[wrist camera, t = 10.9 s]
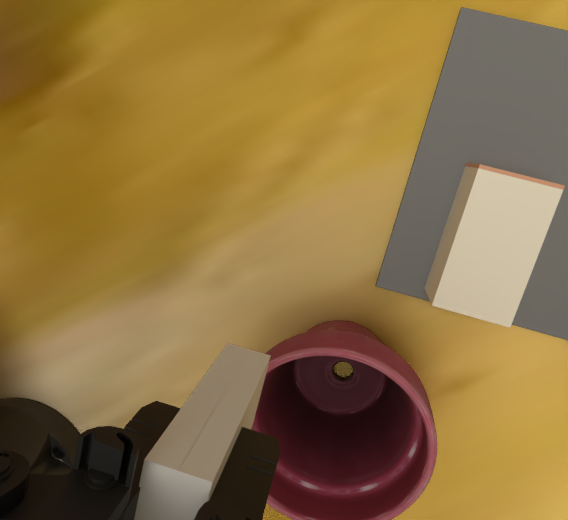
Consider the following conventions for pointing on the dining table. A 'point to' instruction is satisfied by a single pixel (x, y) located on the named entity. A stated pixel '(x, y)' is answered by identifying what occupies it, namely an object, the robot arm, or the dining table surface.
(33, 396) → the dining table surface
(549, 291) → the mat
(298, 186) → the dining table surface
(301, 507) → the plant pot
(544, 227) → the cream rectangular block
